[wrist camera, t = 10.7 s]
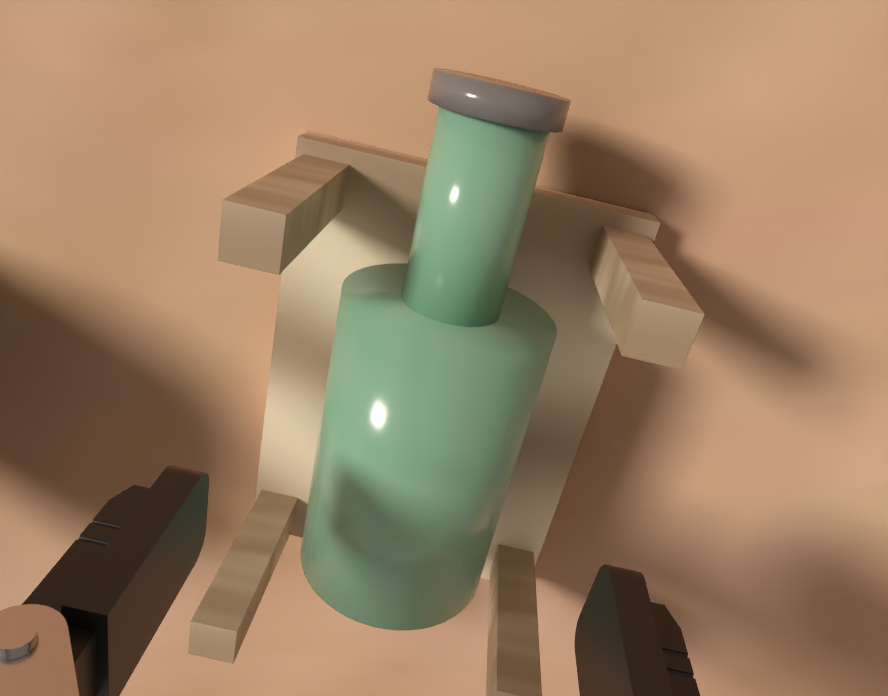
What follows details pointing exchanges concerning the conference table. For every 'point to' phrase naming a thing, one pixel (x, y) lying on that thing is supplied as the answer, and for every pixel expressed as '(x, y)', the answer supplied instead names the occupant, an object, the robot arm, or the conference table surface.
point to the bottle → (434, 373)
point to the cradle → (311, 339)
